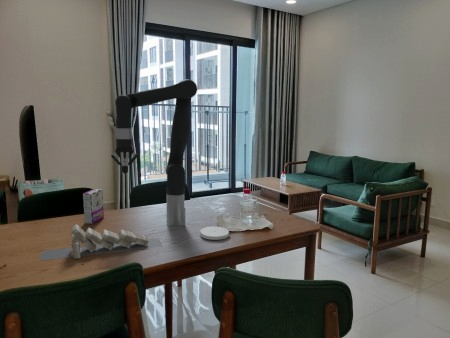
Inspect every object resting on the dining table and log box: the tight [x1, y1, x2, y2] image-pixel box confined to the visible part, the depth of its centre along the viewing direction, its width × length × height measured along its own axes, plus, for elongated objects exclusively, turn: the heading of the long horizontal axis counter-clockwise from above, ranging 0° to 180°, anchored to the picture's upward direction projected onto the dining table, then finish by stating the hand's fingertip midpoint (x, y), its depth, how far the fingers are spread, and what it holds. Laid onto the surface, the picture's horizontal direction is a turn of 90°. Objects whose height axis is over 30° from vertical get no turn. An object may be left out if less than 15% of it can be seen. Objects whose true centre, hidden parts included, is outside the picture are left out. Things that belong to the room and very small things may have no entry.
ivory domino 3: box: [101, 228, 132, 248], centre depth 145 cm, size 2×6×12 cm
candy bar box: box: [82, 188, 105, 225], centre depth 180 cm, size 11×5×16 cm, turn 168°
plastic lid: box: [199, 226, 230, 241], centre depth 164 cm, size 14×14×2 cm
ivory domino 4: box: [118, 229, 149, 246], centre depth 147 cm, size 2×6×12 cm
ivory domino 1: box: [70, 223, 97, 252], centre depth 140 cm, size 2×6×12 cm
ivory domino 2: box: [84, 227, 114, 250], centre depth 142 cm, size 2×6×12 cm
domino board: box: [39, 237, 164, 262], centre depth 144 cm, size 48×10×1 cm, turn 111°
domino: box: [71, 233, 81, 260], centre depth 138 cm, size 2×6×12 cm
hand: (124, 173), depth 164 cm, fingers closed
